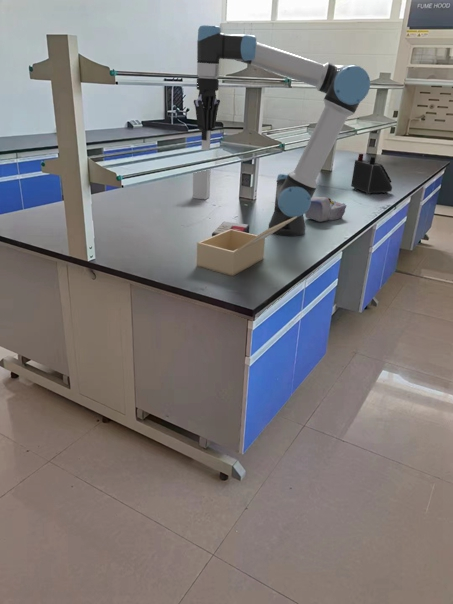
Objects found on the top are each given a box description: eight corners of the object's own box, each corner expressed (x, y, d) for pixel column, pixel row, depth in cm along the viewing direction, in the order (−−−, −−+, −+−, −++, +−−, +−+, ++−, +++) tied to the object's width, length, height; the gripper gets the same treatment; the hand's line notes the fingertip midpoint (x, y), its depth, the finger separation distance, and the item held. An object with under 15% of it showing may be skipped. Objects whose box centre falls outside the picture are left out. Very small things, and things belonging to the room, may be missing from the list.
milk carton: (206, 199, 242) (207, 160, 234) (192, 198, 244) (193, 159, 235) (209, 196, 249) (210, 158, 241) (196, 195, 250) (197, 157, 242)
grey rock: (302, 194, 214) (326, 190, 228) (299, 219, 218) (323, 212, 232) (328, 200, 206) (351, 195, 220) (324, 225, 211) (347, 218, 225)
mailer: (229, 250, 176) (230, 229, 172) (263, 259, 169) (265, 237, 165) (196, 265, 160) (197, 242, 157) (232, 276, 154) (233, 252, 150)
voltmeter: (391, 193, 276) (398, 157, 268) (367, 195, 270) (373, 158, 262) (373, 187, 290) (379, 153, 281) (350, 188, 284) (356, 153, 275)
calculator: (211, 231, 184) (223, 219, 196) (211, 242, 186) (223, 230, 198) (239, 235, 181) (249, 223, 194) (239, 246, 183) (249, 233, 196)
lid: (296, 216, 156) (297, 217, 156) (265, 236, 165) (266, 238, 165) (266, 229, 141) (267, 231, 141) (234, 251, 150) (235, 253, 150)
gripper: (209, 77, 173) (207, 146, 183) (187, 76, 162) (186, 150, 173) (227, 78, 169) (224, 149, 179) (205, 77, 159) (203, 152, 169)
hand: (205, 149), depth 176 cm, fingers closed
